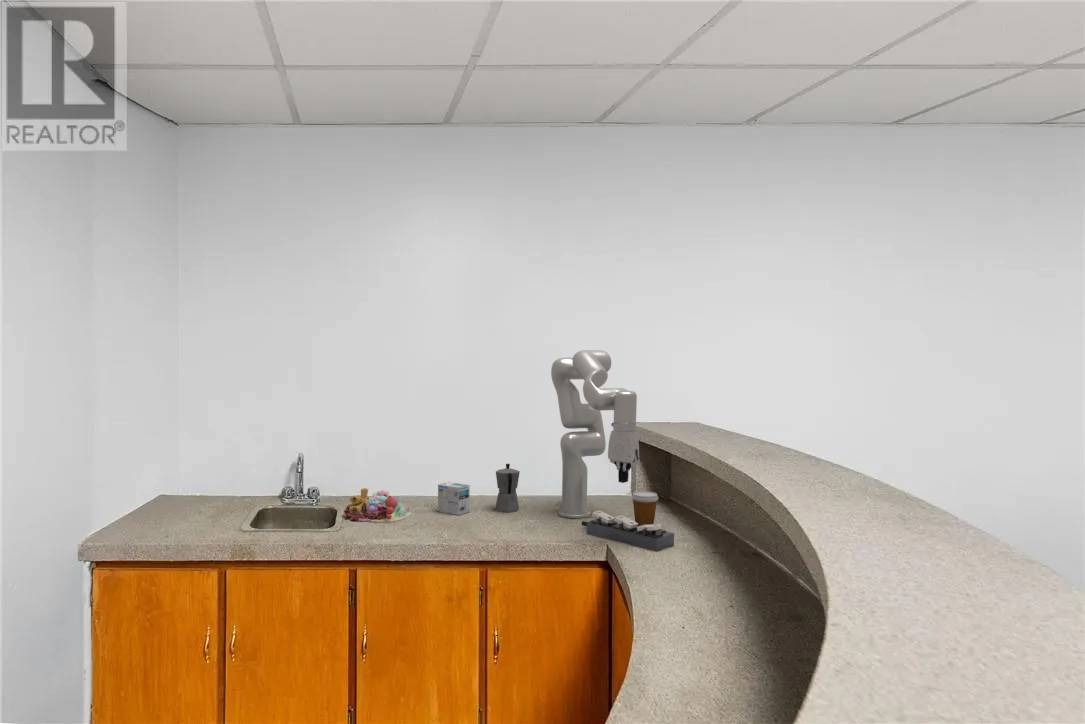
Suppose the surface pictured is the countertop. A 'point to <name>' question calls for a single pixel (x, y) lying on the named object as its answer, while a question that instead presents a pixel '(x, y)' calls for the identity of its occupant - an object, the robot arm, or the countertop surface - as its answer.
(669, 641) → the countertop surface
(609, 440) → the robot arm
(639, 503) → the disposable coffee cup
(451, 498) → the light bulb box
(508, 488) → the coffeepot
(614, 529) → the power strip
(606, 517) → the rocker
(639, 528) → the rocker
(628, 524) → the rocker
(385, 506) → the candy landscape model
